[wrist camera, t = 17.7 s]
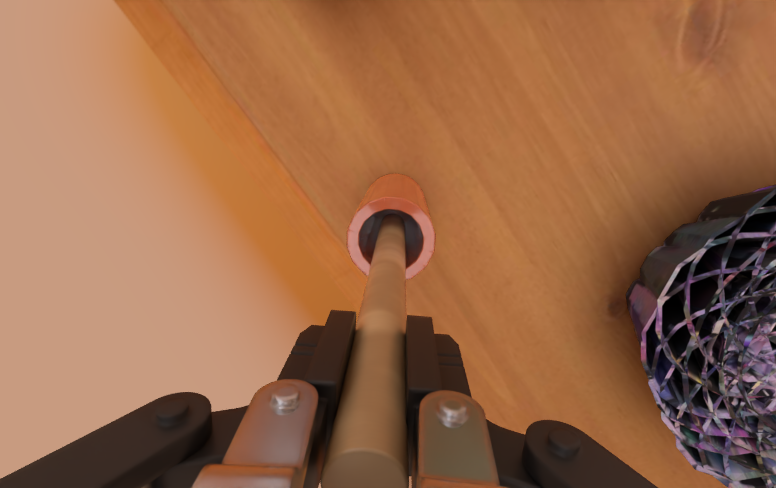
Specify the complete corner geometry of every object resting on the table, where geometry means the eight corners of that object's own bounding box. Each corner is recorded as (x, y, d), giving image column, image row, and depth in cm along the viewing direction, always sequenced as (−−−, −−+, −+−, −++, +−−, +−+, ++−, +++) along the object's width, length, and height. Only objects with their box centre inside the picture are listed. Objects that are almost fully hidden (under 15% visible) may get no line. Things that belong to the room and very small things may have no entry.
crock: (364, 229, 35) (345, 279, 23) (367, 171, 34) (347, 194, 22) (421, 233, 35) (431, 285, 23) (426, 175, 33) (439, 200, 22)
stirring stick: (379, 236, 27) (318, 517, 7) (381, 212, 26) (319, 446, 7) (404, 237, 27) (405, 524, 7) (405, 214, 26) (412, 453, 7)
